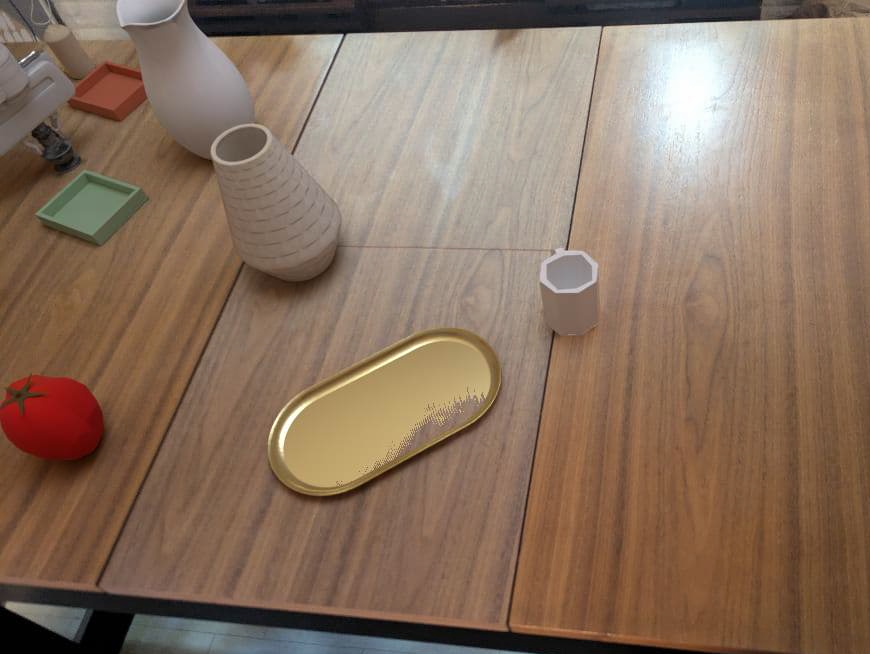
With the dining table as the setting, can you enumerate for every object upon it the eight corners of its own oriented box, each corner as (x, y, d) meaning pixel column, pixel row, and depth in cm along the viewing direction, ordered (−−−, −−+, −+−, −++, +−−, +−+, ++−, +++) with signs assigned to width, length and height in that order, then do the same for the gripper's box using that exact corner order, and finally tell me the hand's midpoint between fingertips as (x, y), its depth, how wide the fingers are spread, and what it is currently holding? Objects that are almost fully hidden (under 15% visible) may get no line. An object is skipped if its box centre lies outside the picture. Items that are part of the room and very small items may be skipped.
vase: (232, 285, 117) (154, 174, 97) (285, 211, 125) (223, 96, 105) (322, 307, 112) (260, 197, 93) (372, 230, 120) (324, 113, 101)
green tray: (44, 225, 129) (34, 214, 127) (93, 179, 134) (84, 169, 132) (101, 246, 125) (91, 235, 122) (149, 198, 130) (140, 187, 128)
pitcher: (281, 144, 135) (210, -3, 111) (199, 184, 131) (106, 41, 107) (236, 86, 146) (162, -59, 122) (159, 121, 142) (68, -21, 118)
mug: (608, 327, 105) (607, 284, 97) (552, 343, 105) (547, 301, 96) (583, 270, 111) (580, 225, 103) (531, 285, 111) (524, 240, 102)
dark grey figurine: (51, 159, 139) (6, 106, 129) (81, 149, 140) (39, 95, 129) (53, 177, 136) (7, 124, 126) (83, 167, 137) (40, 113, 126)
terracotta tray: (70, 106, 148) (62, 95, 145) (112, 71, 153) (105, 60, 151) (120, 121, 143) (113, 110, 141) (162, 84, 149) (155, 73, 146)
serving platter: (526, 399, 100) (525, 393, 99) (298, 525, 93) (293, 520, 92) (466, 313, 109) (464, 307, 108) (254, 422, 102) (249, 417, 101)
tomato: (67, 492, 99) (-3, 448, 88) (29, 442, 104) (-42, 395, 93) (138, 436, 103) (80, 387, 92) (98, 391, 108) (38, 339, 97)
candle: (75, 82, 152) (43, 38, 143) (66, 72, 154) (34, 28, 146) (99, 70, 153) (69, 26, 145) (90, 60, 156) (59, 16, 147)
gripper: (29, 40, 127) (78, 107, 139) (-62, 109, 119) (-1, 174, 130) (53, 46, 125) (101, 113, 137) (-37, 117, 117) (22, 182, 129)
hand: (51, 144), depth 134 cm, fingers open, 4 cm apart
